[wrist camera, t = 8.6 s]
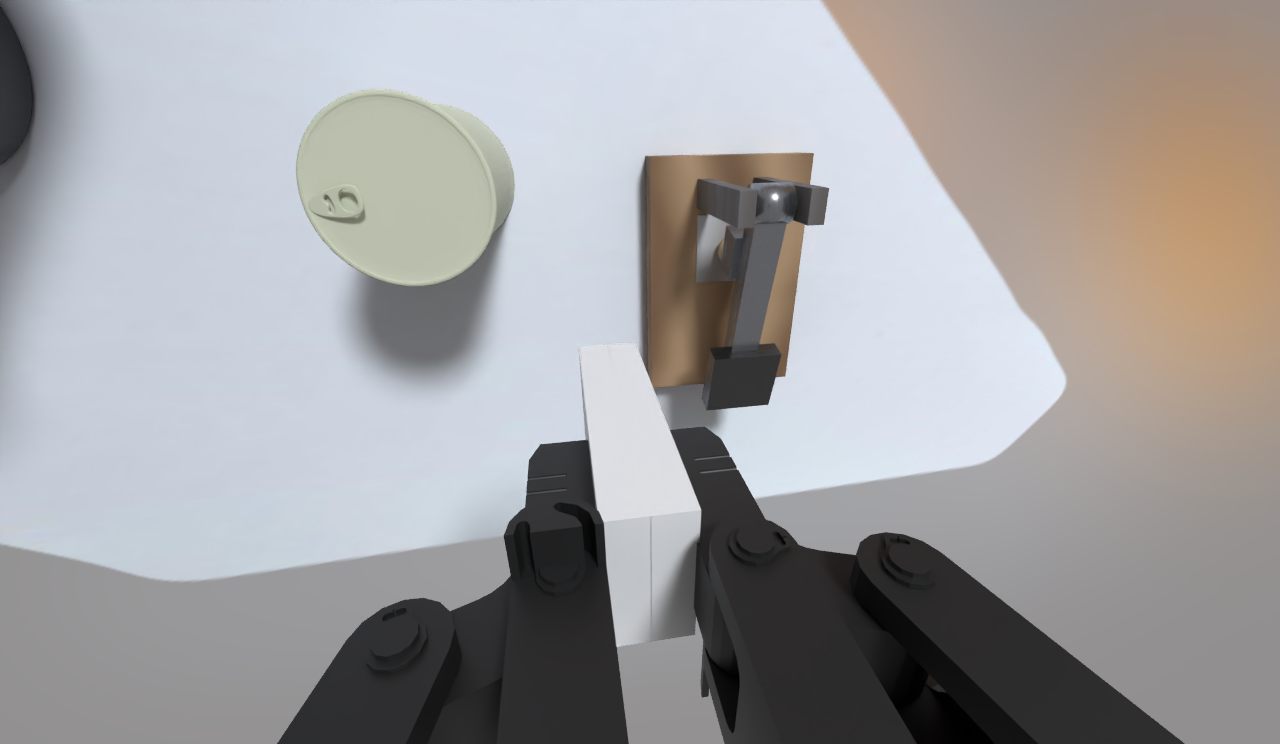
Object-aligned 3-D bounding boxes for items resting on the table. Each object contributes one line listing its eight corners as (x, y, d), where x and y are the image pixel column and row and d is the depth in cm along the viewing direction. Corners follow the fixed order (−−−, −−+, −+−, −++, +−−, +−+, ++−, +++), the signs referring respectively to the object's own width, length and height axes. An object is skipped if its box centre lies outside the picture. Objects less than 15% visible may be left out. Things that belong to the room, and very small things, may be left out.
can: (354, 113, 32) (250, 99, 21) (497, 96, 32) (468, 74, 22) (401, 254, 36) (335, 303, 25) (527, 235, 36) (515, 275, 26)
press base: (647, 377, 43) (674, 447, 33) (645, 156, 35) (680, 162, 26) (776, 366, 45) (837, 430, 35) (801, 152, 37) (890, 157, 27)
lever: (693, 373, 41) (706, 410, 38) (718, 169, 30) (740, 195, 27) (750, 369, 42) (768, 404, 38) (794, 167, 31) (825, 192, 28)
